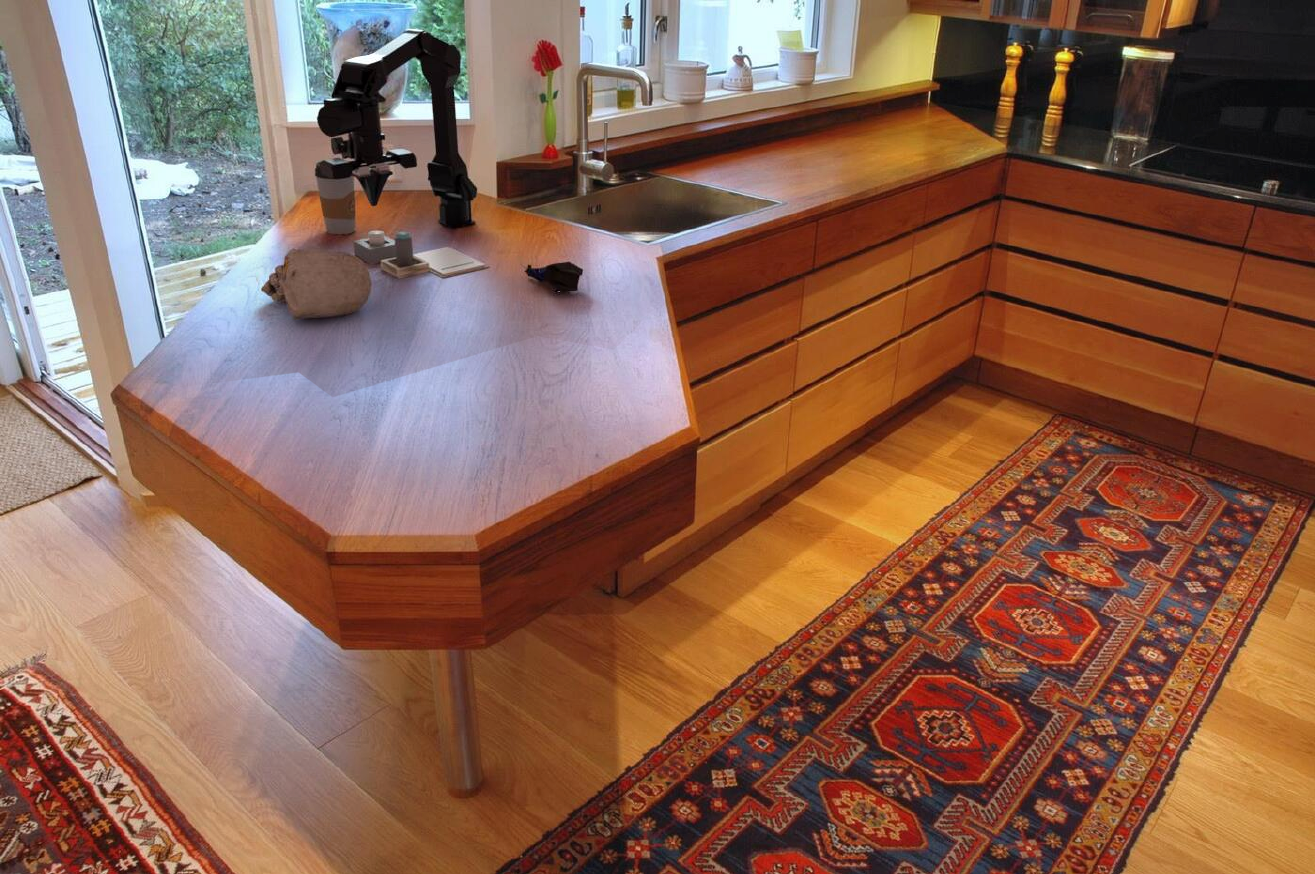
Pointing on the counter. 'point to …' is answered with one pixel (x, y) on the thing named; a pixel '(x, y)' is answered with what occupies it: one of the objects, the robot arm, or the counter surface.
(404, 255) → the marker
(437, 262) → the white flat rectangular panel
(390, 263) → the holder tray
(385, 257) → the button housing
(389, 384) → the counter surface
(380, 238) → the button
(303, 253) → the decorative skull
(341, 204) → the coffee cup
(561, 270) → the toy
